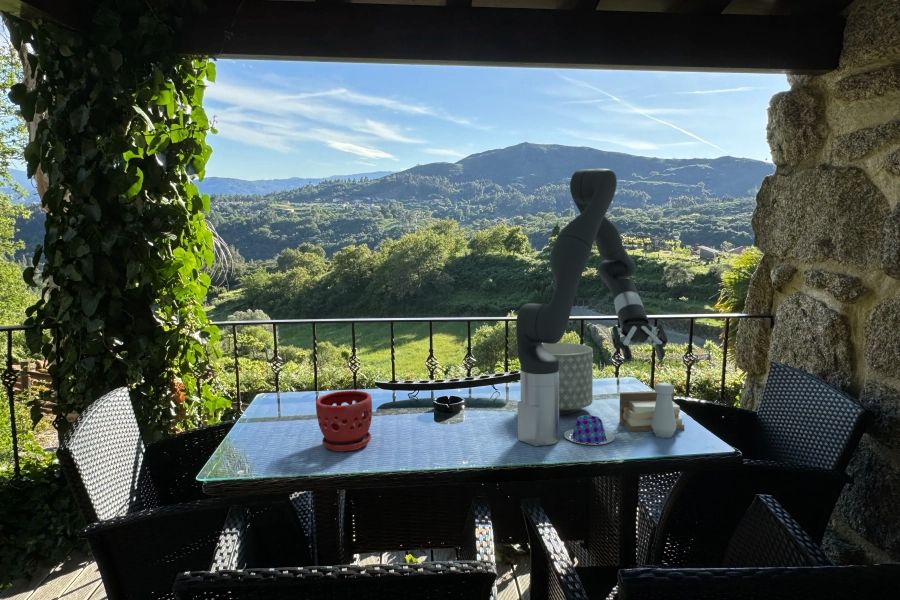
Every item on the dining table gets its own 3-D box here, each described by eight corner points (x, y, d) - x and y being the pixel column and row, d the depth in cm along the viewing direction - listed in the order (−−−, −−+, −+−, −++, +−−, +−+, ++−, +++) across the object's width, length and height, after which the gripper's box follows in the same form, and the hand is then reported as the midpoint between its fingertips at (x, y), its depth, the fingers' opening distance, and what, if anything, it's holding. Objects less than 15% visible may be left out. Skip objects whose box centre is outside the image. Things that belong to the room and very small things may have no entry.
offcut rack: (684, 429, 140) (685, 398, 139) (630, 431, 140) (630, 400, 139) (671, 420, 148) (671, 390, 147) (619, 421, 147) (619, 392, 147)
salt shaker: (679, 439, 133) (680, 386, 132) (655, 439, 133) (656, 386, 132) (670, 431, 139) (671, 380, 138) (647, 431, 139) (648, 380, 138)
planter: (595, 421, 148) (596, 354, 146) (524, 419, 151) (523, 354, 149) (589, 402, 166) (589, 342, 165) (525, 400, 169) (525, 342, 168)
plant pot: (330, 435, 141) (328, 389, 140) (379, 437, 139) (378, 390, 137) (308, 454, 128) (306, 403, 127) (363, 456, 126) (361, 405, 125)
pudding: (597, 428, 143) (598, 409, 143) (624, 444, 131) (624, 422, 131) (555, 433, 140) (555, 413, 139) (578, 450, 128) (579, 428, 128)
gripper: (608, 303, 153) (623, 352, 143) (659, 302, 154) (676, 350, 144) (602, 320, 159) (615, 367, 149) (651, 318, 160) (667, 366, 149)
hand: (645, 359), depth 146 cm, fingers open, 8 cm apart
